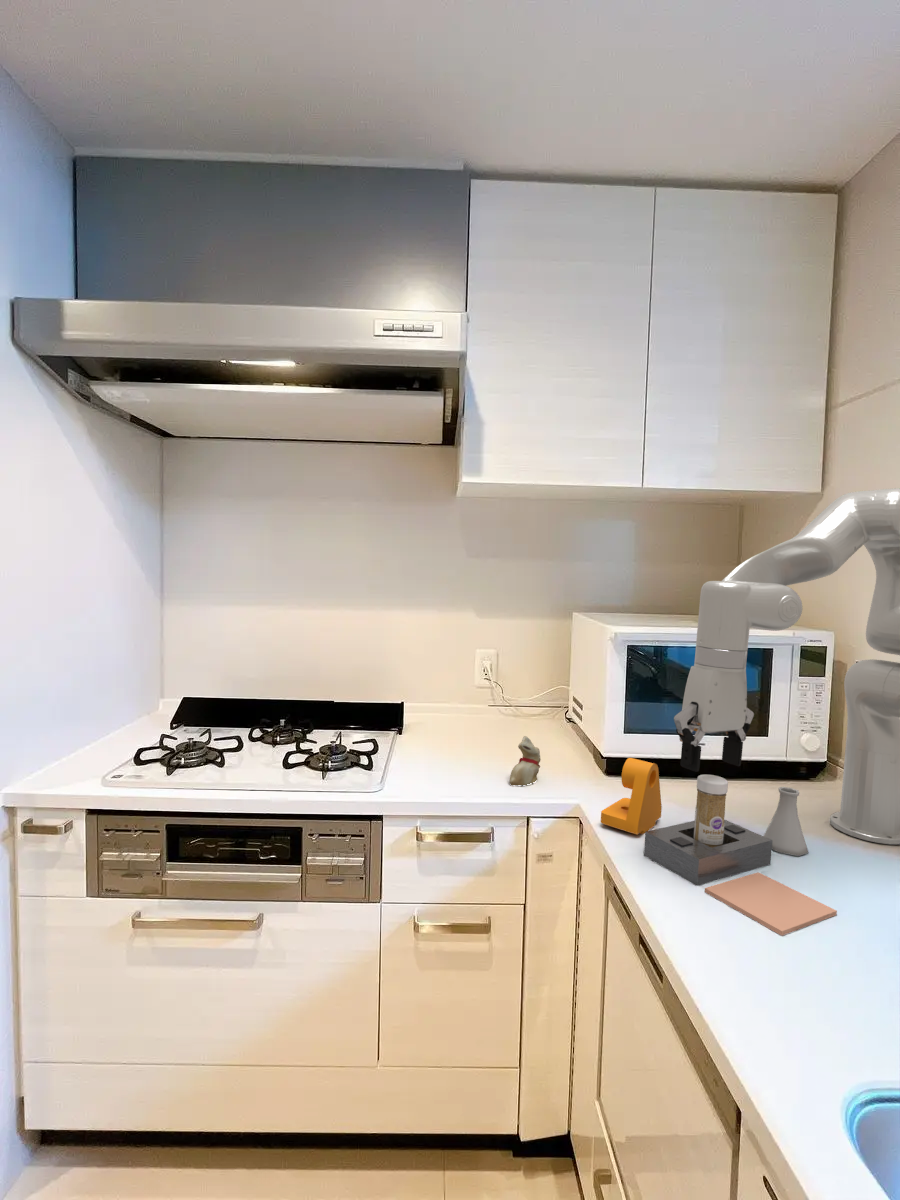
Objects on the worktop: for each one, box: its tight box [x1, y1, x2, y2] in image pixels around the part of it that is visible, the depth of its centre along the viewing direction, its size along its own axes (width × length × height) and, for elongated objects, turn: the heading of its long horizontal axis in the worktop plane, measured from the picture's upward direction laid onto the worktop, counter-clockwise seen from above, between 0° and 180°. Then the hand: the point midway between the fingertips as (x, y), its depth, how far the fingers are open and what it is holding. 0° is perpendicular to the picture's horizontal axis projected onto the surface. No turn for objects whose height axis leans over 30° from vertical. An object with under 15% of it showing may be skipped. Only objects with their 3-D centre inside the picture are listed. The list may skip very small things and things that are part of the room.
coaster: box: [704, 871, 838, 937], centre depth 91 cm, size 12×12×1 cm
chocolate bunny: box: [509, 735, 542, 786], centre depth 137 cm, size 6×8×10 cm
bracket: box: [600, 757, 663, 836], centre depth 117 cm, size 11×7×12 cm, turn 141°
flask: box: [763, 786, 809, 857], centre depth 110 cm, size 7×7×10 cm
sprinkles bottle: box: [694, 774, 729, 848], centre depth 103 cm, size 5×5×13 cm
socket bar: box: [643, 818, 772, 886], centre depth 103 cm, size 17×11×4 cm, turn 119°
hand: (710, 766), depth 102 cm, fingers open, 9 cm apart
